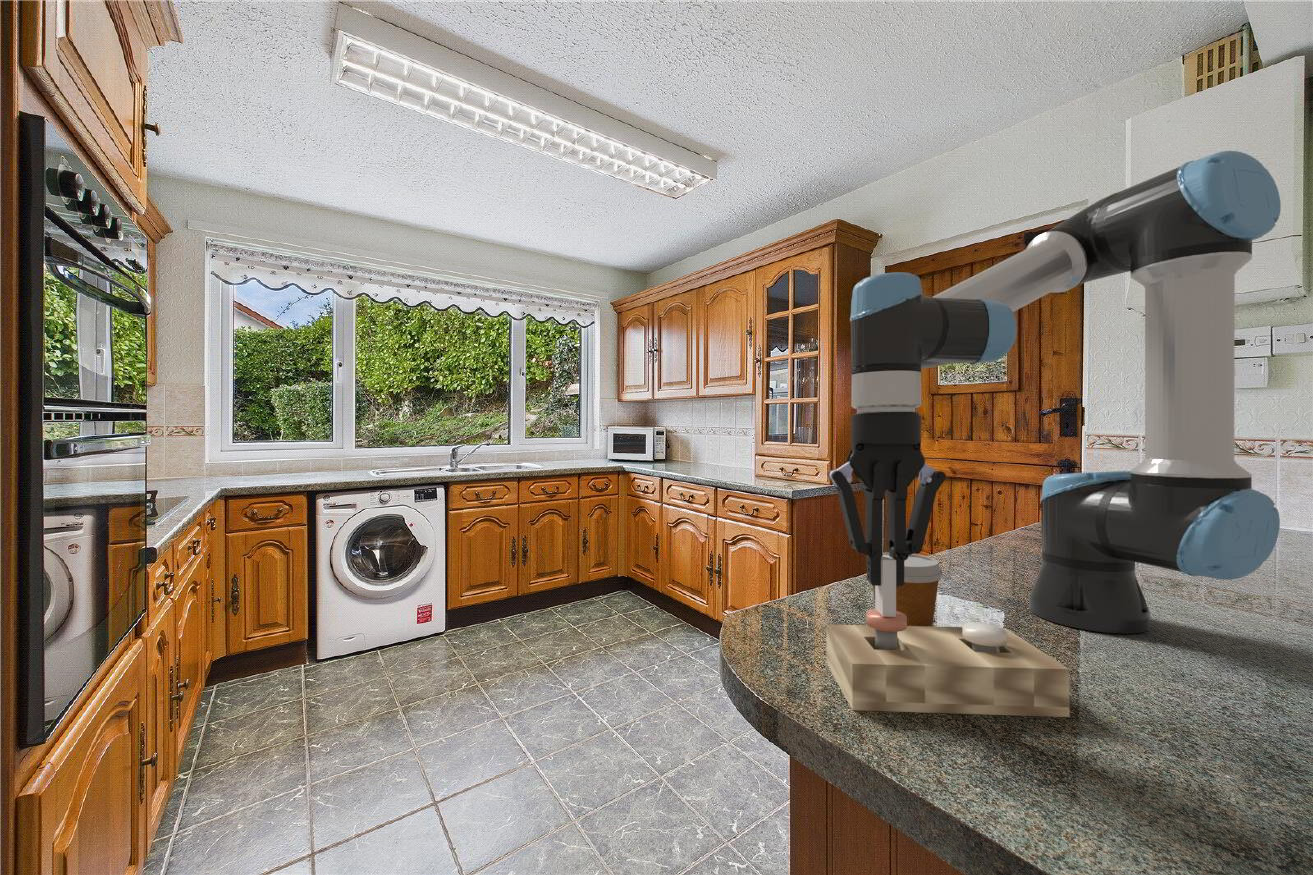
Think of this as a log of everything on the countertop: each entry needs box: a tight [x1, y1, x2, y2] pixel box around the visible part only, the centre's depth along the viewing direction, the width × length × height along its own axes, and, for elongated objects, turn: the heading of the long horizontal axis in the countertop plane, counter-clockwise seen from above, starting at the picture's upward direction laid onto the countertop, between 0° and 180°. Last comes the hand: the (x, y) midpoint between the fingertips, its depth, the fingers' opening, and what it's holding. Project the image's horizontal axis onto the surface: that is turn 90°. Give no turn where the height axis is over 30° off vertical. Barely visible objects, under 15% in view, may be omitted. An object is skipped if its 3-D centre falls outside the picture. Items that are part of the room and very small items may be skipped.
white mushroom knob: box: [961, 621, 1007, 653], centre depth 63 cm, size 4×4×5 cm
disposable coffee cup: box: [872, 552, 943, 627], centre depth 76 cm, size 10×10×12 cm
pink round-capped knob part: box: [865, 608, 907, 650], centre depth 64 cm, size 4×4×5 cm
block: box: [825, 623, 1070, 718], centre depth 64 cm, size 22×12×5 cm, turn 86°
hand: (885, 612), depth 64 cm, fingers closed
